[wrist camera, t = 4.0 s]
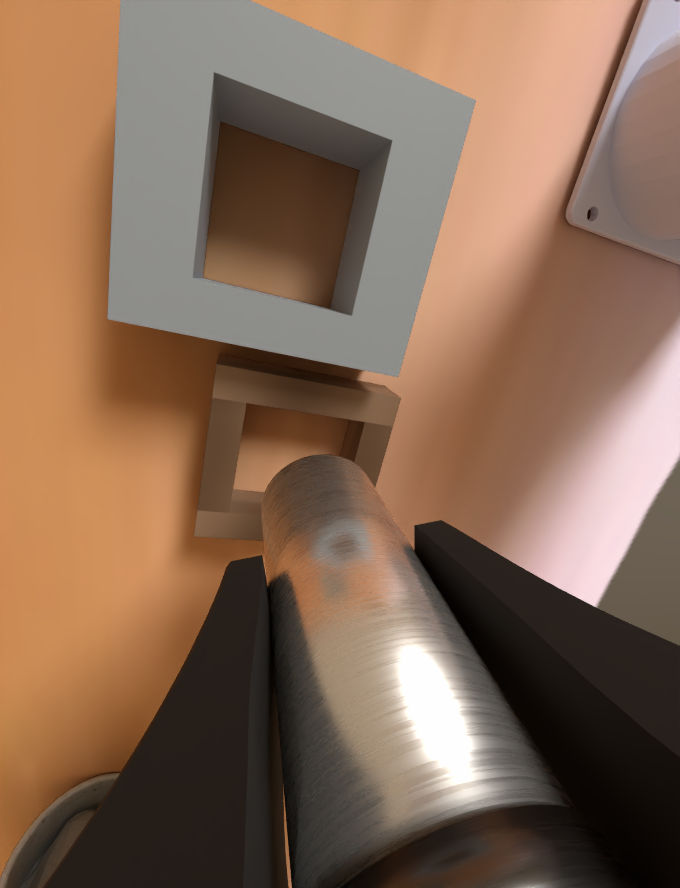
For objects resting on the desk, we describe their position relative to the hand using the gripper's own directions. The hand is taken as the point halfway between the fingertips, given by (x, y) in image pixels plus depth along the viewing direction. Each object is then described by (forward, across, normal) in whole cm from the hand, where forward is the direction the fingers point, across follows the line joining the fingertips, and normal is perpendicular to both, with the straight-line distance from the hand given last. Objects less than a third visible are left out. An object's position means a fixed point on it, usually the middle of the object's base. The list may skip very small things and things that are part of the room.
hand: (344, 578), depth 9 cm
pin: (+3, 0, 0) cm, 3 cm away
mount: (+10, 0, +1) cm, 10 cm away
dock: (+10, 0, -8) cm, 12 cm away
